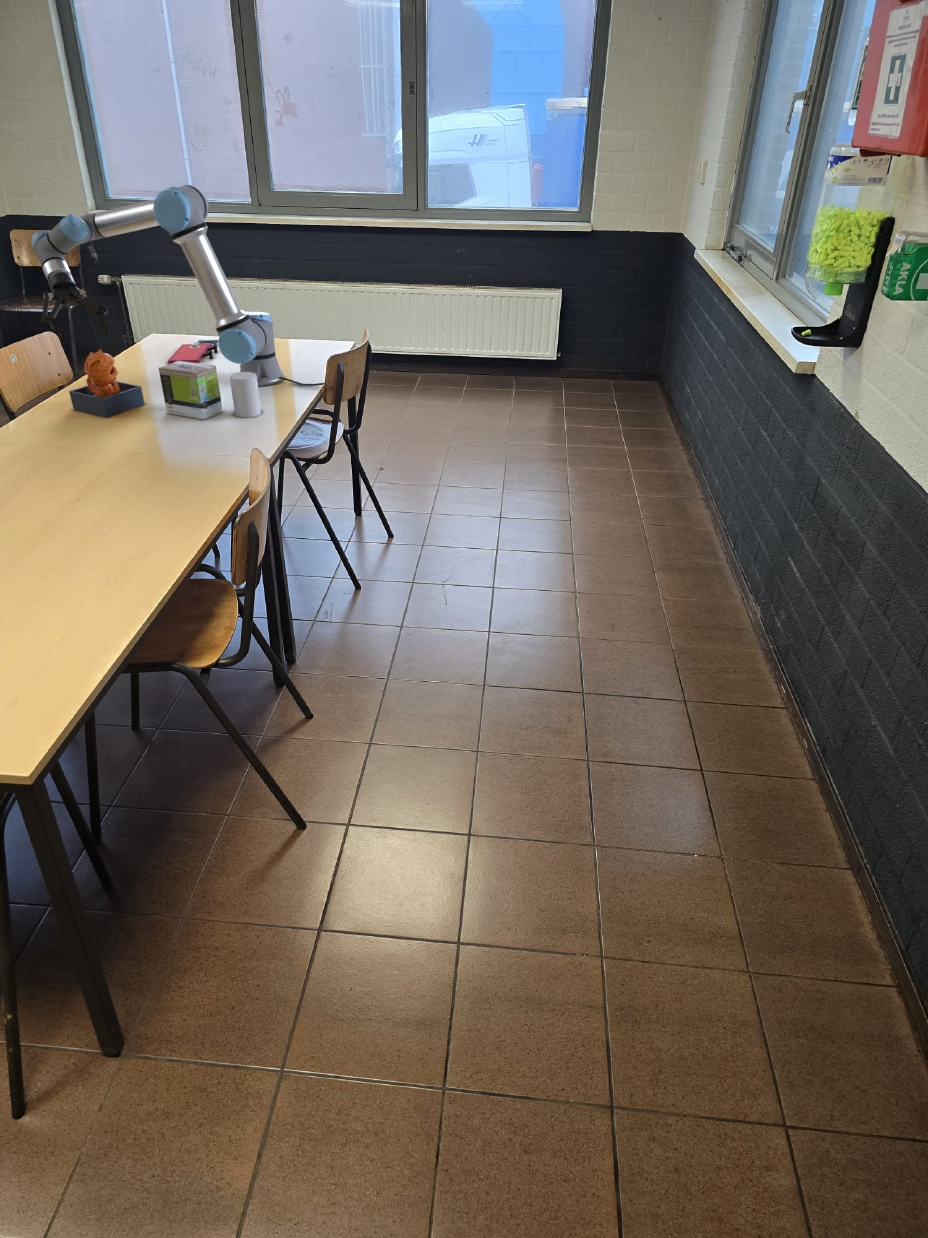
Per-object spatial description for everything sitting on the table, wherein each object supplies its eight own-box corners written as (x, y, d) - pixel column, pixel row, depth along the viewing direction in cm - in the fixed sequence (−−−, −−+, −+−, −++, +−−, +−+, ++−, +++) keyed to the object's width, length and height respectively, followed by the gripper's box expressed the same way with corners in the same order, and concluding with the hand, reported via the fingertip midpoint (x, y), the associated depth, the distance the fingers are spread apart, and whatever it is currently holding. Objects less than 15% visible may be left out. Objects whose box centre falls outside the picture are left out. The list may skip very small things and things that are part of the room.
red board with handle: (224, 341, 339) (187, 342, 339) (223, 334, 338) (186, 335, 337) (208, 363, 314) (168, 364, 314) (207, 355, 313) (166, 356, 312)
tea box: (224, 411, 268) (217, 364, 260) (203, 420, 261) (195, 373, 253) (186, 404, 274) (179, 358, 266) (165, 413, 266) (156, 366, 258)
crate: (144, 404, 273) (141, 386, 270) (107, 417, 262) (102, 398, 259) (111, 396, 280) (107, 378, 276) (73, 409, 268) (68, 391, 265)
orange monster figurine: (134, 403, 274) (123, 347, 264) (112, 414, 265) (100, 356, 255) (106, 400, 277) (94, 344, 267) (83, 410, 268) (70, 353, 258)
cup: (264, 409, 270) (259, 372, 264) (256, 417, 263) (251, 379, 257) (239, 408, 271) (234, 371, 264) (231, 416, 264) (225, 378, 257)
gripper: (98, 281, 278) (122, 336, 277) (18, 289, 266) (43, 348, 264) (100, 266, 272) (125, 323, 270) (18, 274, 259) (43, 334, 257)
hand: (84, 335), depth 267 cm, fingers open, 13 cm apart
